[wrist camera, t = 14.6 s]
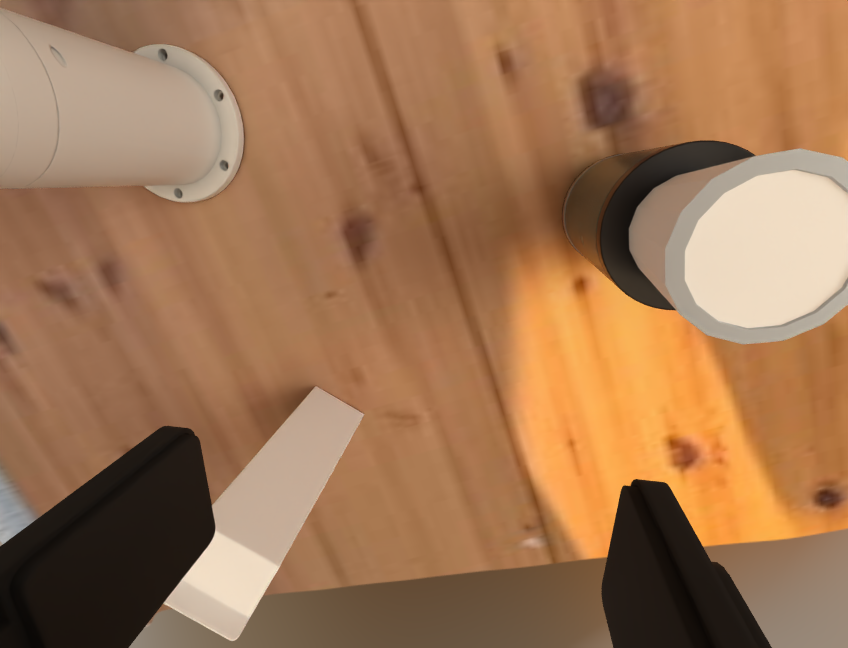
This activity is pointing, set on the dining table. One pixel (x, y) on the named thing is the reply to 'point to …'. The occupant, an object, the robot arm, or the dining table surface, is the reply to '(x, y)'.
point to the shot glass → (749, 244)
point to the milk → (264, 514)
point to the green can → (630, 206)
